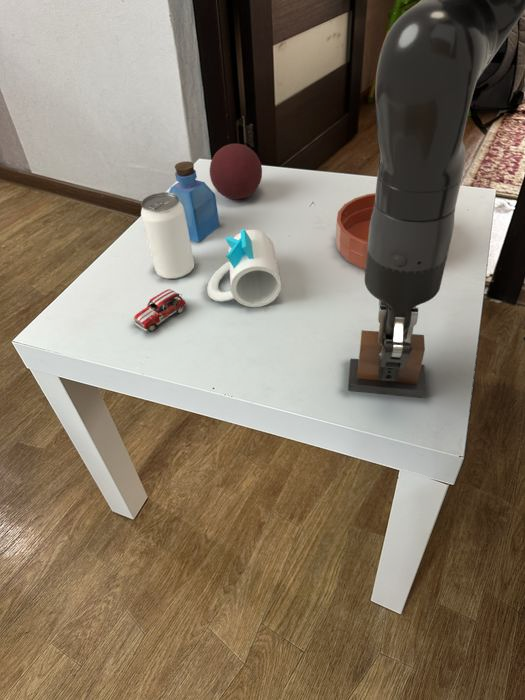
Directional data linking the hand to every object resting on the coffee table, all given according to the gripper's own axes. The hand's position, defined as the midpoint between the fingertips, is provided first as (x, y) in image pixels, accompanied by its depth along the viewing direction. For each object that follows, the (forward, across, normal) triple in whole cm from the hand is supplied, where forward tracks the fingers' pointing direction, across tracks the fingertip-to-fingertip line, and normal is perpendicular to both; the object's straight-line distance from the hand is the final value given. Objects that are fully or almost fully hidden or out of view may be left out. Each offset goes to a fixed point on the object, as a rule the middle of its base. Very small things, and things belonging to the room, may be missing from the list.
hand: (387, 368), depth 59 cm
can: (+2, +20, +34) cm, 40 cm away
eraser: (+2, 0, 0) cm, 2 cm away
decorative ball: (+2, +46, +29) cm, 54 cm away
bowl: (+2, +30, 0) cm, 31 cm away
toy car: (+2, +8, +32) cm, 33 cm away
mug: (+2, +18, +22) cm, 28 cm away
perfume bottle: (+2, +32, +34) cm, 47 cm away
